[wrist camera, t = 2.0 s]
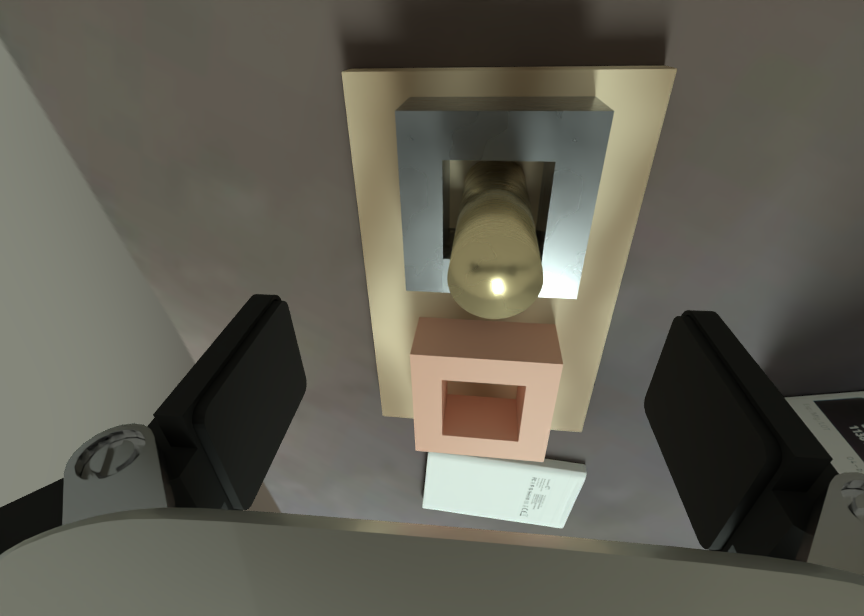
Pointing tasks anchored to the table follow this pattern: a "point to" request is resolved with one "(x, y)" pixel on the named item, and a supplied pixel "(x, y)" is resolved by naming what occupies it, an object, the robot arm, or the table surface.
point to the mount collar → (501, 141)
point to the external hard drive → (503, 487)
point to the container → (836, 426)
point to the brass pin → (495, 244)
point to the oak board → (611, 226)
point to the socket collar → (484, 363)
